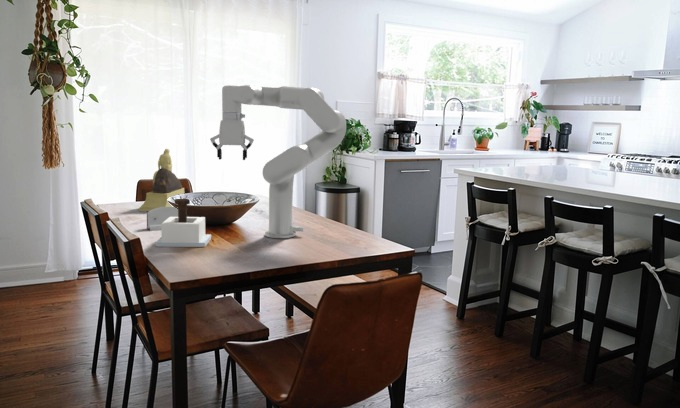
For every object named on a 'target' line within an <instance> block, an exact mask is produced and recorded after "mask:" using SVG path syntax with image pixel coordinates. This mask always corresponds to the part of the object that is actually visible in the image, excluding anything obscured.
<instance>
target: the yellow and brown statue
mask: <svg viewBox="0 0 680 408" xmlns="http://www.w3.org/2000/svg"><path fill="white" fill-rule="evenodd" d="M159 155H160V156H159V159H158V162H157V167H158V170H156V171H155V172H154V174H153V176H152V190H151V191H149V192H146V193H145V194H146V196H145V199H144V203H142V204H141V206H140V207H139V208H138V209H139V212H142V211H151V210H153V209H156V208H160V207H172V206H171V205H170V204H169V203H168V201H167V199H168V198H169V197H171V196H174V195H178V194H184V193H185V187H183V185H182V182H181V180H180V179H178V177H177V175H176V174H175V173H174V172H173V171H172V170H173V164H172V158H171V155H170V149H168V148H165V149H164V151H163V153H162V154H159Z"/></svg>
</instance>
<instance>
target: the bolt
mask: <svg viewBox="0 0 680 408" xmlns="http://www.w3.org/2000/svg"><path fill="white" fill-rule="evenodd" d="M190 201H191V200H190V199H189V198H186V199H185V198H183V199H175V204H177V205H178V207H177V208H178V215H179V216H178V221H179V223H187V217H188V214H187V211H188V205H190V204H191V202H190Z"/></svg>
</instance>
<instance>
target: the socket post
mask: <svg viewBox="0 0 680 408" xmlns="http://www.w3.org/2000/svg"><path fill="white" fill-rule="evenodd" d="M160 231H161V236H160V238H159V239H157V240H156V241H155V247H162V248H163V247H164V248H165V247H167V248H169V247H170V248H171V247H172V248H173V247H179V248H180V247H181V248H186V247H187V248H189V247H190V248H195V247H197V248H198V247H199V248H206V246H207V245H208V243H210V241H211V239H212V234H211V233H210V234H209V233H207V234H206V216H187V223H179V221H178V217H169V218H168V219H166V220H165V221H164V222H163V223H161V230H160Z"/></svg>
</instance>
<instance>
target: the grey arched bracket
mask: <svg viewBox="0 0 680 408" xmlns="http://www.w3.org/2000/svg"><path fill="white" fill-rule="evenodd" d="M177 208H178V207H177ZM177 208H175V207H160V208H156V209H153V210H151V211H149V212H146V230H149V231H150V232H152V231H153V232H154V231H161V223H163V222H164V221H165V220H166V219H168V218H169V217H178V216H179V215H178V209H177Z"/></svg>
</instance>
